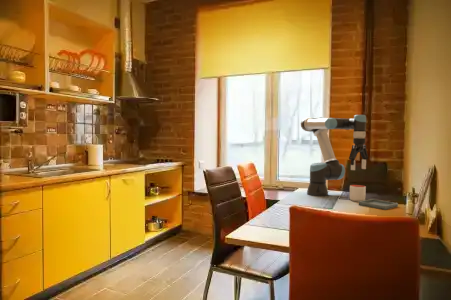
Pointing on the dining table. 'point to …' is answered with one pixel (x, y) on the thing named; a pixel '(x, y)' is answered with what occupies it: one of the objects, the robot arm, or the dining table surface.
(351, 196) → the cup
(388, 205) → the tray
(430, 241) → the dining table surface
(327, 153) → the robot arm
